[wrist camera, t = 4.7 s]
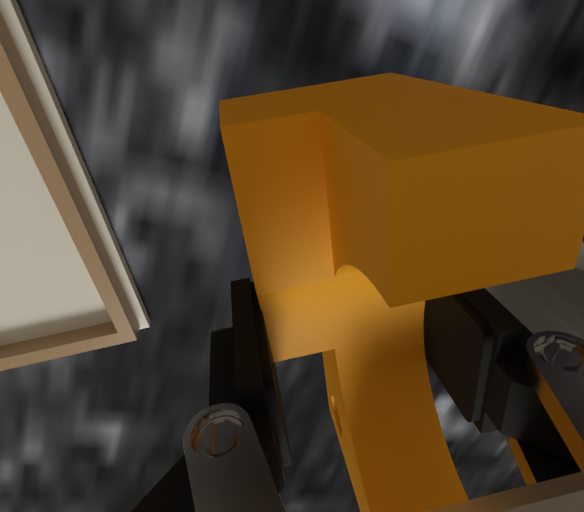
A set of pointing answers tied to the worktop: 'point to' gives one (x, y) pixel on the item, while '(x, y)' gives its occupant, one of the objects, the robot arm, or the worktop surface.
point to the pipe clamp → (395, 243)
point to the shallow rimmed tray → (52, 224)
